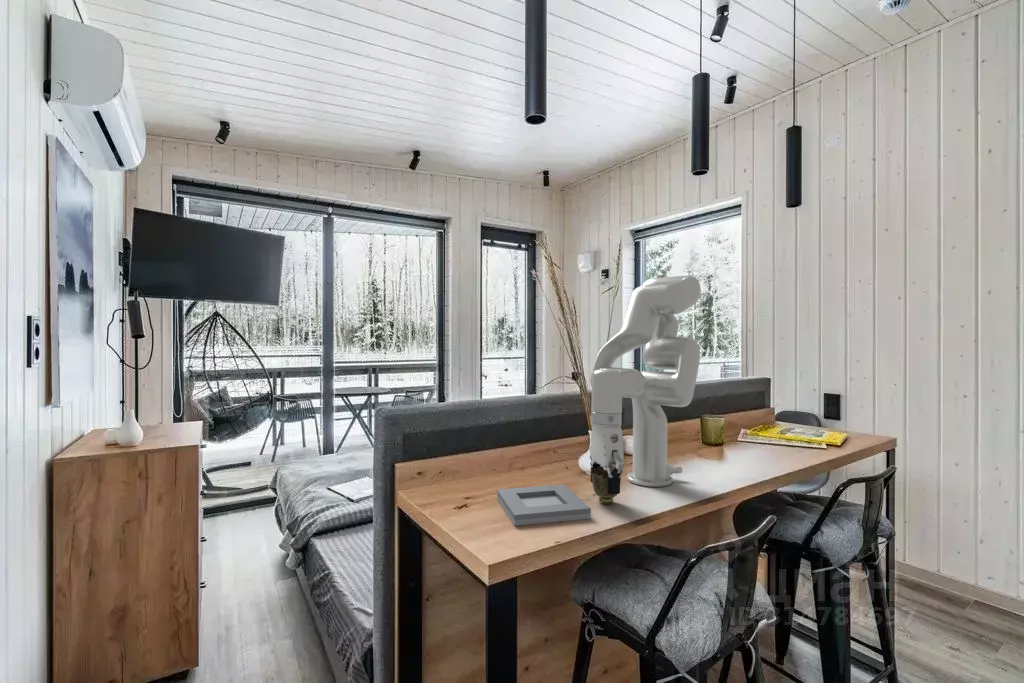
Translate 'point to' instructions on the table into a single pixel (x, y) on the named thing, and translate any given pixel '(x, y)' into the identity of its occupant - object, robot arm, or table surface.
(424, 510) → the table surface
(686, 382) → the robot arm
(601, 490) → the cup
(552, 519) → the display stand
